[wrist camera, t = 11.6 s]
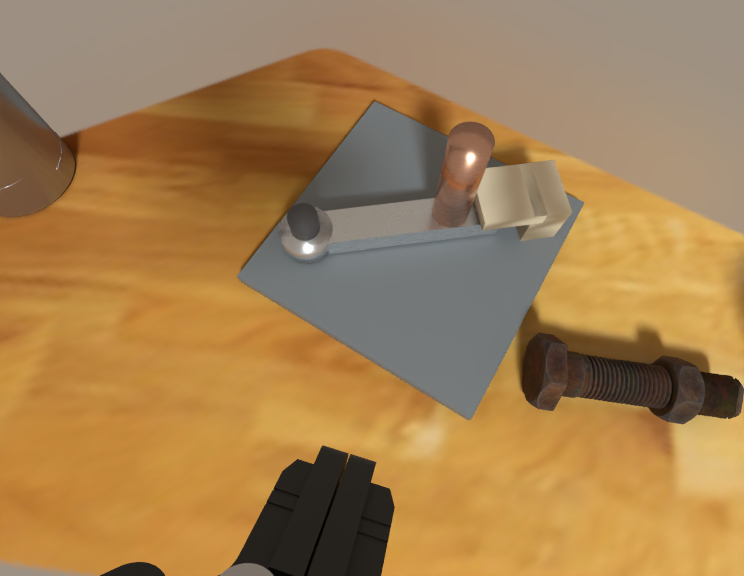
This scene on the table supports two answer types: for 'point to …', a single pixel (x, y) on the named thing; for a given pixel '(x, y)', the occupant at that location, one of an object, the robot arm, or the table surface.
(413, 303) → the board
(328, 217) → the link
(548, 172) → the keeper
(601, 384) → the bolt
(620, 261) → the table surface
